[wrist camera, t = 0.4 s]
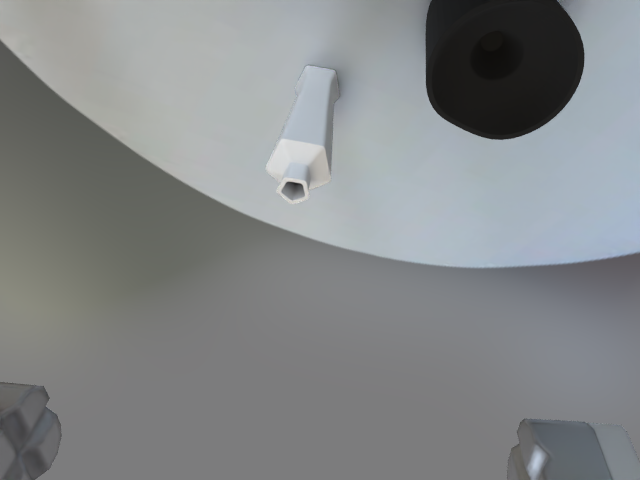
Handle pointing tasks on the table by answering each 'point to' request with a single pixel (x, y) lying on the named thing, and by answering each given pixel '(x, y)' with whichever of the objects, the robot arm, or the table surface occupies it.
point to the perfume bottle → (306, 136)
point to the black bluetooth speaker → (501, 64)
